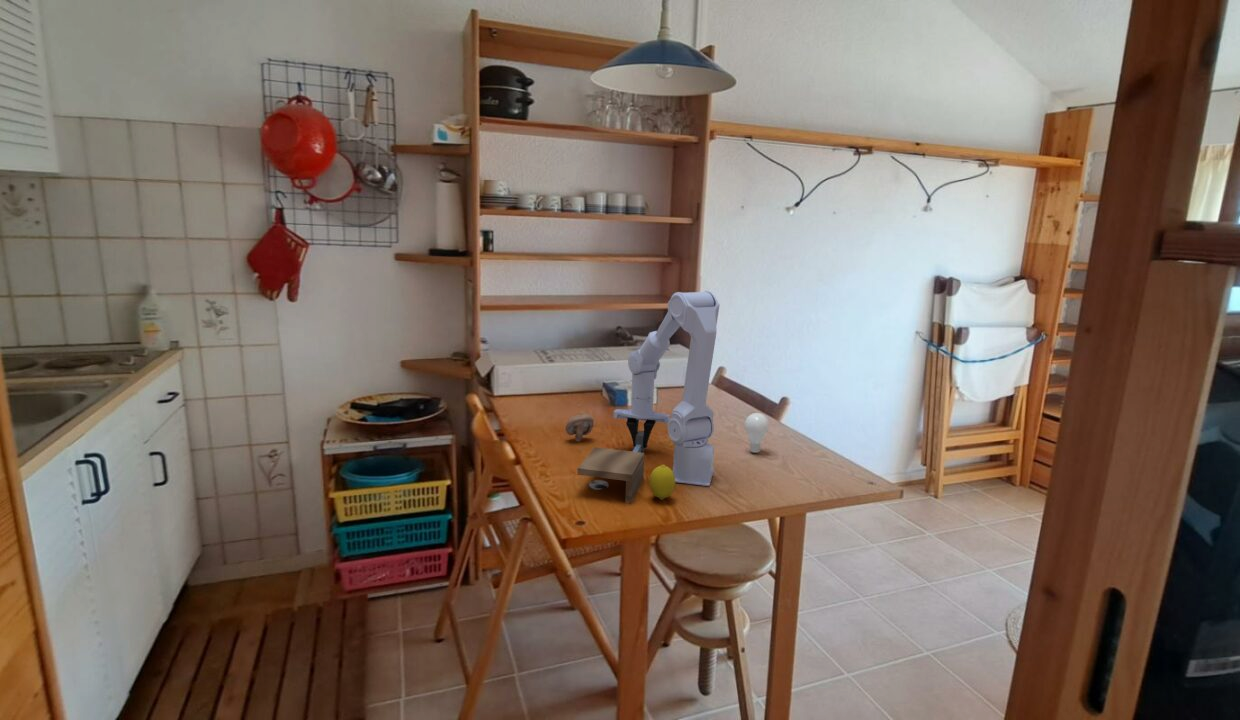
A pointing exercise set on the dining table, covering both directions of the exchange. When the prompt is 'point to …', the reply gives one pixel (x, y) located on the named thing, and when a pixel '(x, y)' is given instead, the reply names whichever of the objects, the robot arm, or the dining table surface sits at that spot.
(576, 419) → the mushroom
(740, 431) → the dining table surface
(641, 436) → the scraper
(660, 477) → the lemon
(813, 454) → the dining table surface
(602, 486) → the token
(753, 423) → the lightbulb
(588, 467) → the shelf
